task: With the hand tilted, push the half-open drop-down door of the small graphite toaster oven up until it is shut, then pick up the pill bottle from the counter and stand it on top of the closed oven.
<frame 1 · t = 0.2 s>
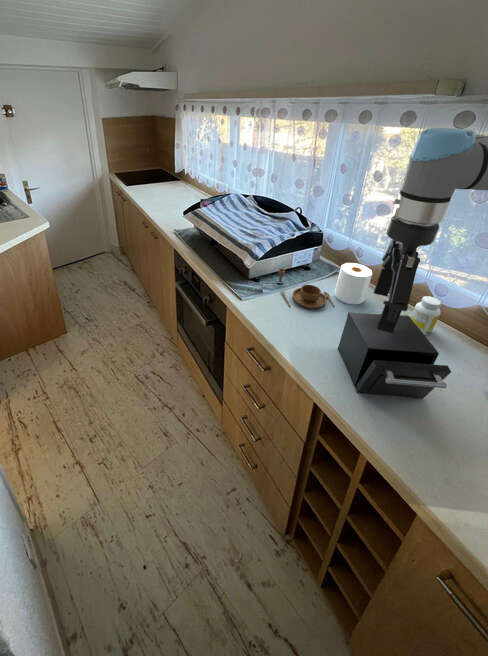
hand: (382, 310, 66), 27 cm above the worktop, tool pointing down, fingers open, 13 cm apart
pill bottle: (418, 329, 100), on the worktop
oven door: (402, 386, 73), point 6 cm above the worktop, hinge at 13.0°
place setting: (303, 294, 118), on the worktop
oven: (375, 368, 86), on the worktop
toilet paper: (348, 297, 116), on the worktop
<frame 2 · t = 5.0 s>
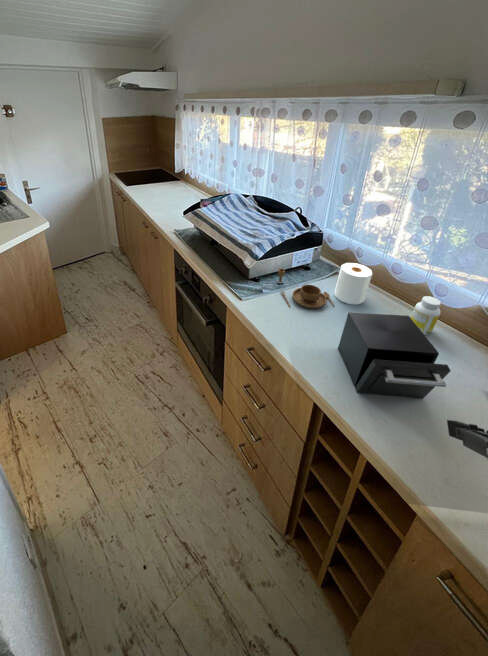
hand: (452, 428, 57), 13 cm above the worktop, tool tilted 45°, fingers closed
oven door: (401, 385, 73), point 7 cm above the worktop, hinge at 12.0°
everything else where it was.
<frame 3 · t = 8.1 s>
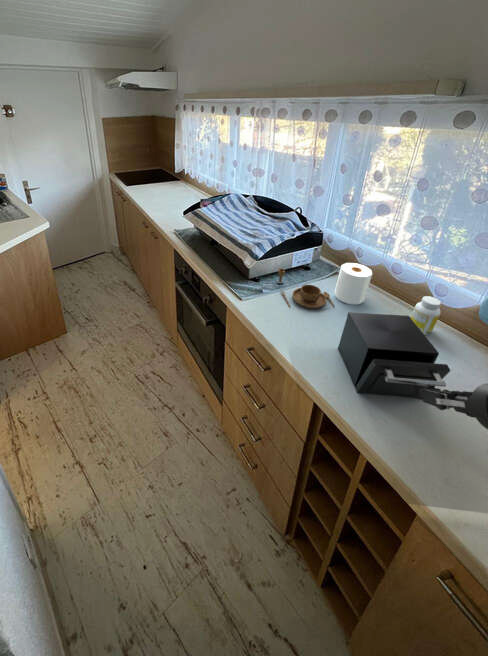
hand: (417, 391, 68), 10 cm above the worktop, tool tilted 45°, fingers closed
oven door: (401, 385, 73), point 7 cm above the worktop, hinge at 11.7°, touching gripper
everything else where it was.
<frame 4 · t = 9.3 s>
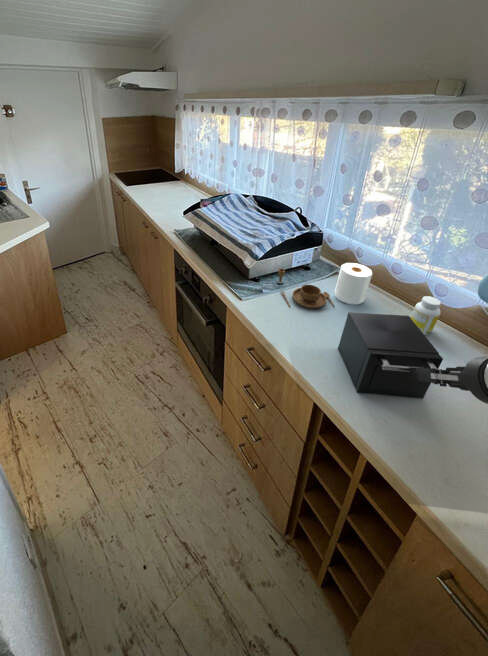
hand: (413, 373, 69), 12 cm above the worktop, tool tilted 45°, fingers closed
oven door: (399, 379, 74), point 7 cm above the worktop, hinge at -1.1°, touching gripper, oven
everything else where it was.
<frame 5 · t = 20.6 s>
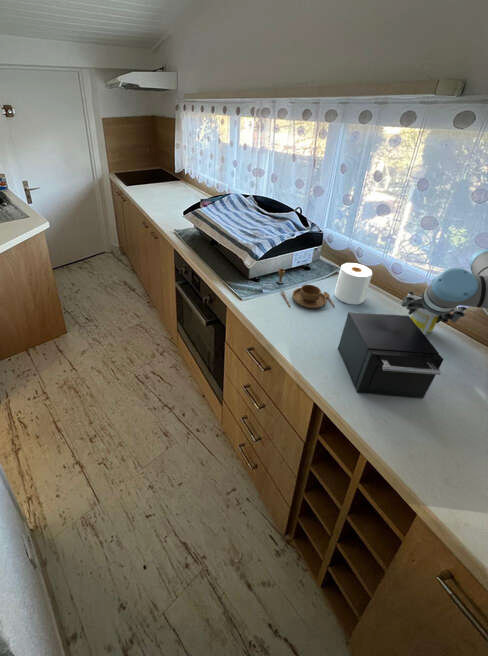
hand: (423, 314, 101), 4 cm above the worktop, tool tilted 45°, fingers closed on pill bottle, 6 cm apart
pill bottle: (418, 329, 100), on the worktop, touching gripper
oven door: (399, 379, 74), point 7 cm above the worktop, hinge at -0.3°
everything else where it was.
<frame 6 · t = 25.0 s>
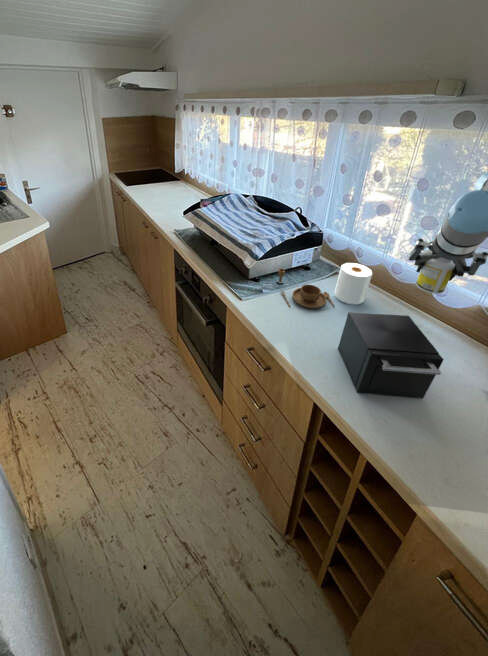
hand: (434, 272, 87), 24 cm above the worktop, tool tilted 45°, fingers closed on pill bottle, 6 cm apart
pill bottle: (428, 288, 86), point 20 cm above the worktop, touching gripper
everything else where it was.
when the fingers open (18 cm above the worktop, at t = 29.4 s): pill bottle stays where it is, resting on oven.
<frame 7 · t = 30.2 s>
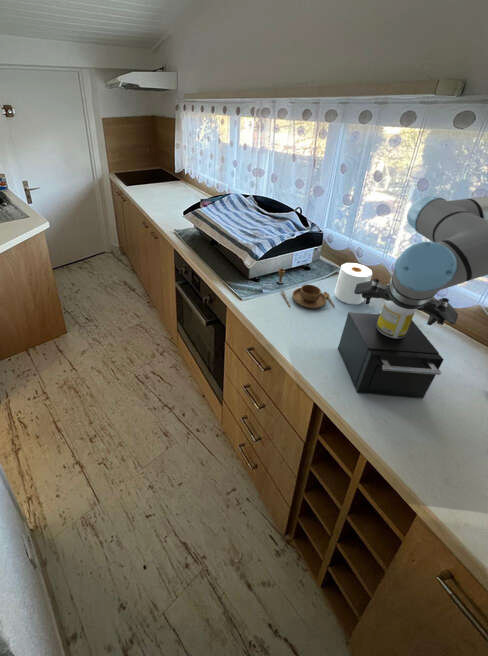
hand: (397, 309, 78), 20 cm above the worktop, tool tilted 45°, fingers open, 13 cm apart
pill bottle: (389, 331, 79), point 14 cm above the worktop, touching oven
everything else where it was.
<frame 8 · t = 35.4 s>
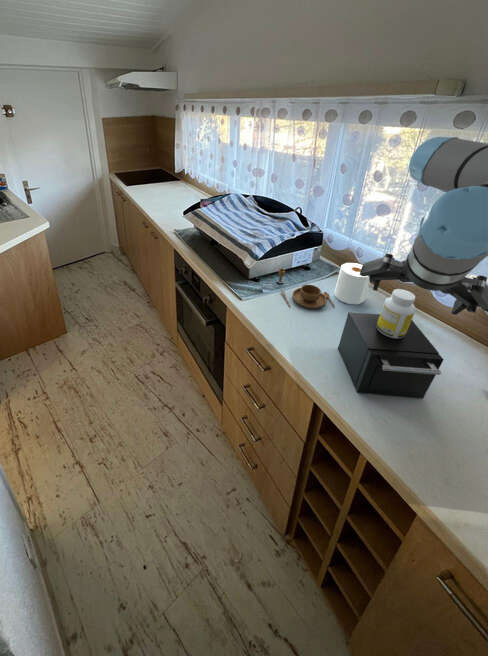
hand: (413, 295, 63), 32 cm above the worktop, tool tilted 45°, fingers open, 13 cm apart
nothing on the worktop moved.
at the end: pill bottle inside the target area on the oven (0.0 cm from its centre), point 13.8 cm above the oven's base; pill bottle tilted 0° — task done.
